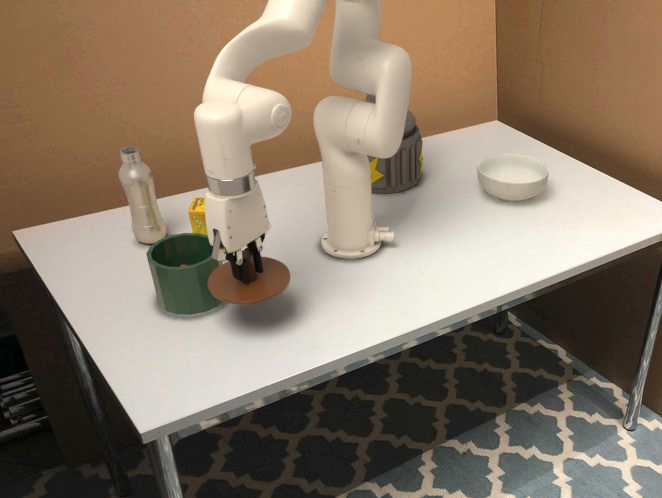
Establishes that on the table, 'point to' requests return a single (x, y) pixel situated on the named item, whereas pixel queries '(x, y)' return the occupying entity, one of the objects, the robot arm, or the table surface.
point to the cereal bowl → (512, 176)
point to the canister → (183, 273)
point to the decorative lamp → (398, 160)
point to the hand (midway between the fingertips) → (248, 274)
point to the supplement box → (198, 216)
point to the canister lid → (258, 286)
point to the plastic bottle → (141, 196)
